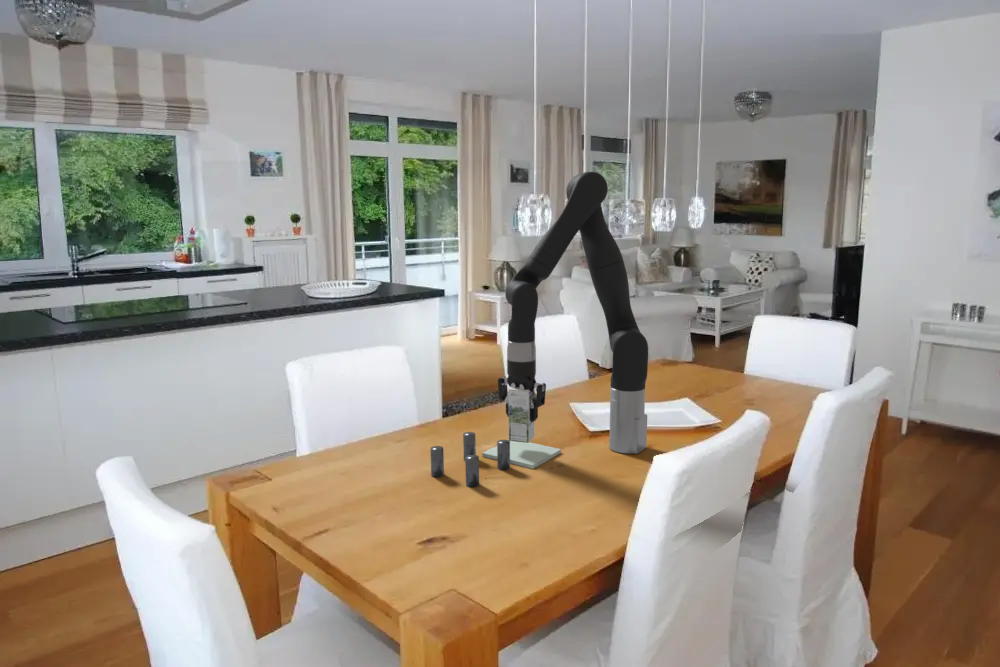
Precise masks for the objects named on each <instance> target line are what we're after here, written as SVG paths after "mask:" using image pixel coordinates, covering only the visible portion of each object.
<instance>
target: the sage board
mask: <svg viewBox="0 0 1000 667" xmlns="http://www.w3.org/2000/svg"><path fill="white" fill-rule="evenodd" d="M561 453H562V449H561V448H557V447H552V446H548V445H543V444H539V443H535V442H531V441H530V442H529V443H525V442H516V441H510V465H516V466H519V467H524V468H527V469H531V470H533V469H536V468H537V467H538V466H541V465H543V464H544V463H546V462H548V461H549V460H551V459H553V458H554V457H556V456H558V455H560V454H561ZM481 454H482V455H481V456H482V457H483V458H487V459H490V460H491V459H492V460H495V461H497V445H496V446H493V447H491V448H489V449H488V450H485V451H483V452H482V453H481Z"/></svg>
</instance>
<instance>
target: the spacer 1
mask: <svg viewBox="0 0 1000 667" xmlns="http://www.w3.org/2000/svg"><path fill="white" fill-rule="evenodd" d="M429 453H430V475H431V477H433V478H442V477H444V475H445V459H444V458H445V457H444V454H445V453H444V447H443V446H440V445H434V446H433V445H432V446H431V447H430V452H429Z"/></svg>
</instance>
